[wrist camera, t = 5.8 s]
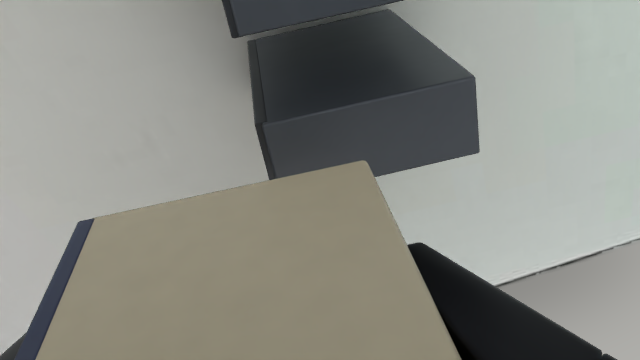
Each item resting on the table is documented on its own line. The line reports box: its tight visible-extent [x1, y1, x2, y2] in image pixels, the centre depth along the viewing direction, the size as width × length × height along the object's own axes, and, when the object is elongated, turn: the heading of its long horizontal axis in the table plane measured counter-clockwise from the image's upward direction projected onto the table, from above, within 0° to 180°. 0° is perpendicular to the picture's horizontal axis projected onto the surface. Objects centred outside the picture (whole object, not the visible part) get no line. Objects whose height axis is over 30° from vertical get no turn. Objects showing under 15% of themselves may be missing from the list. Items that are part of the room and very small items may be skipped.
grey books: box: [222, 0, 479, 180], centre depth 16 cm, size 5×6×8 cm
